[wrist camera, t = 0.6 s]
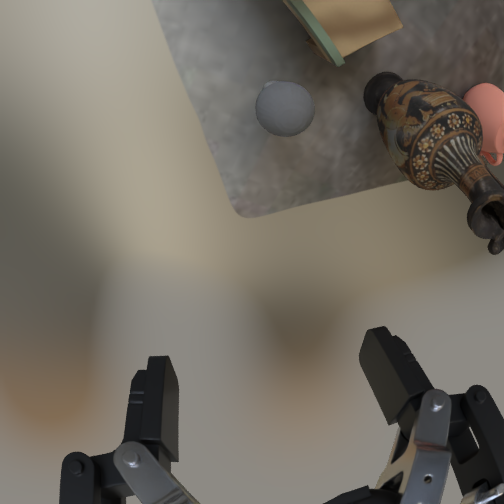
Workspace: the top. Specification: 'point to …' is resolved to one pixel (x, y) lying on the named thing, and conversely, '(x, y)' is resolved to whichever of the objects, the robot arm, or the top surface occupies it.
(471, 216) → the vase
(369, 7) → the wooden step stool
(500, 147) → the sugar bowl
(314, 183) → the top surface
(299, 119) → the light bulb
